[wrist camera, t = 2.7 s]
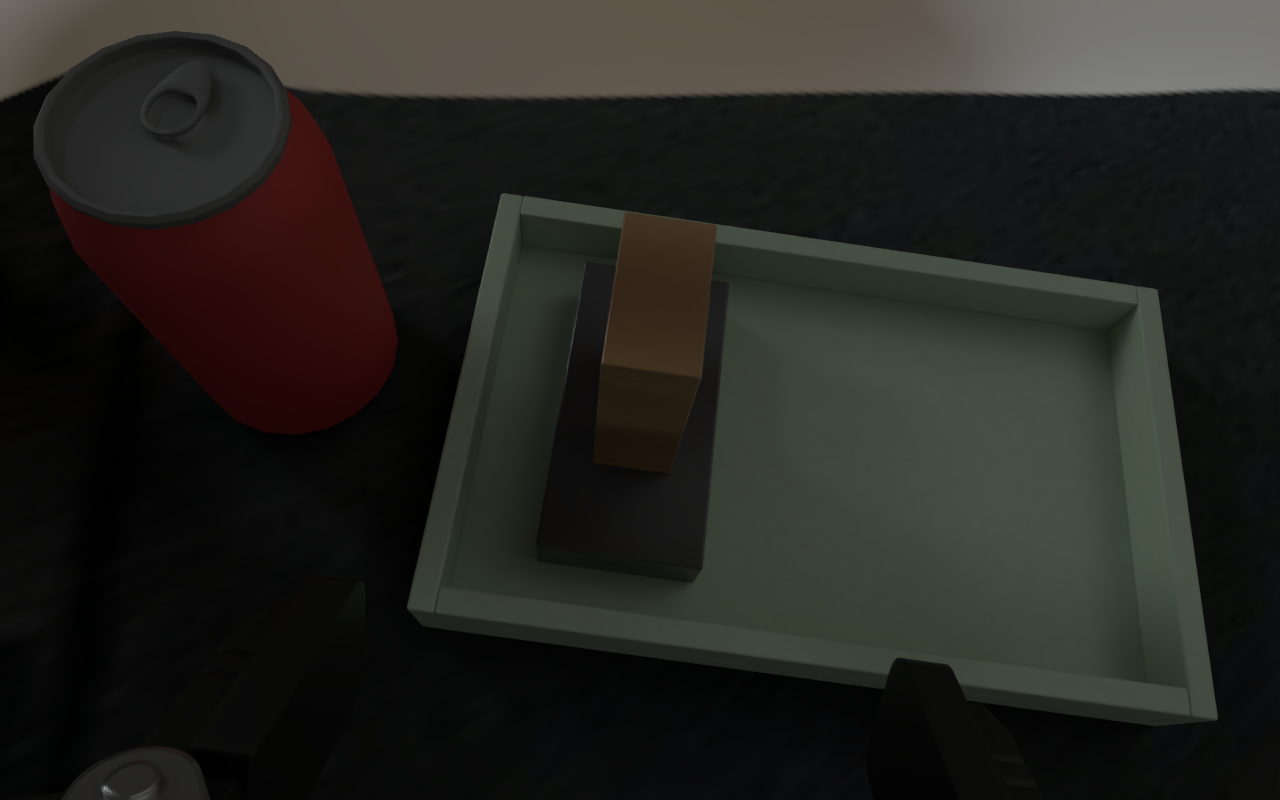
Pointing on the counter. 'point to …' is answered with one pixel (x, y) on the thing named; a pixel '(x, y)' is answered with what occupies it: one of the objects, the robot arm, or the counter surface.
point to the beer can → (220, 226)
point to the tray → (853, 477)
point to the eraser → (639, 407)
